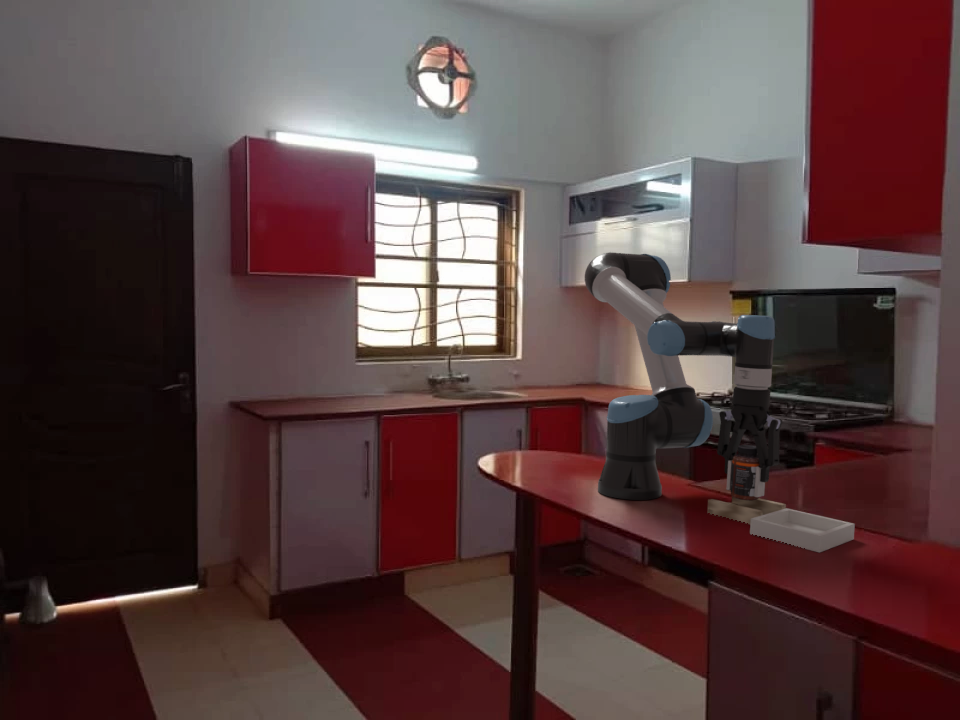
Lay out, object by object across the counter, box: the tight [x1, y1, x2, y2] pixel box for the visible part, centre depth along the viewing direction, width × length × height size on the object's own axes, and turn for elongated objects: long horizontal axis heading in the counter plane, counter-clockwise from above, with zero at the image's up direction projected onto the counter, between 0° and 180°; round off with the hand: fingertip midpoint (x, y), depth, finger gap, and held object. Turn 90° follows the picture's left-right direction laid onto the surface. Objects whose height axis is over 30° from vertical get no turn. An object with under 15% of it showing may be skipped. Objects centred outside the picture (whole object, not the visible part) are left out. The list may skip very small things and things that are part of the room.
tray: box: [749, 507, 855, 553], centre depth 146 cm, size 14×14×3 cm
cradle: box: [707, 496, 787, 525], centre depth 161 cm, size 12×11×3 cm
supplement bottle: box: [730, 444, 760, 501], centre depth 161 cm, size 6×6×11 cm
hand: (745, 492), depth 162 cm, fingers closed on supplement bottle, 6 cm apart
